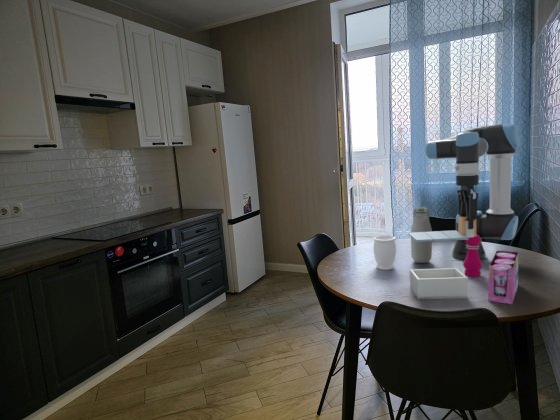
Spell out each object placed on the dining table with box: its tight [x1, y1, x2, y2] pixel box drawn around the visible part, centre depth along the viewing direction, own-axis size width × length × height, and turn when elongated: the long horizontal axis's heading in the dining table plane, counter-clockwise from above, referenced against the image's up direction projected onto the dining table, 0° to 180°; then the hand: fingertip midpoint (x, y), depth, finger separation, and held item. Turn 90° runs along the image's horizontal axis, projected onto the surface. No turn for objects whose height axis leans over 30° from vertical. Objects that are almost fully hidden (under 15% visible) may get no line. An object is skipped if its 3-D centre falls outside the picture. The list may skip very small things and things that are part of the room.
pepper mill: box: [463, 234, 483, 278], centre depth 162 cm, size 7×7×20 cm
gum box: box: [487, 250, 520, 305], centre depth 141 cm, size 24×8×14 cm, turn 143°
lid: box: [407, 217, 476, 242], centre depth 142 cm, size 23×13×7 cm, turn 85°
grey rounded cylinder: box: [410, 206, 433, 264], centre depth 184 cm, size 10×10×28 cm
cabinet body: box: [409, 267, 469, 301], centre depth 145 cm, size 18×12×8 cm, turn 84°
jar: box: [373, 235, 397, 271], centre depth 181 cm, size 11×10×15 cm
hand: (467, 235), depth 142 cm, fingers closed on lid, 4 cm apart
